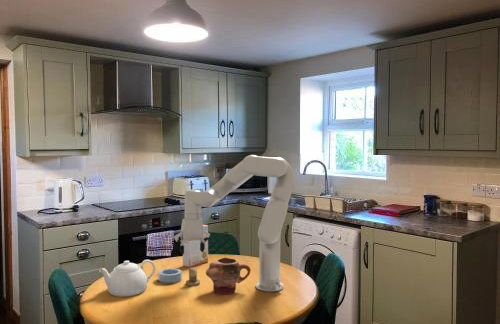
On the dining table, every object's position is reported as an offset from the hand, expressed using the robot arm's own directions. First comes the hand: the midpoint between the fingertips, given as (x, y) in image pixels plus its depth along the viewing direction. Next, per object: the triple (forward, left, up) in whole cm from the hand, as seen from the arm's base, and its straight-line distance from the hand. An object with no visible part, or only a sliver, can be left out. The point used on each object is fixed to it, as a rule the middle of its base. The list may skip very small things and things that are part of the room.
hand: (192, 252), depth 198 cm
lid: (0, 0, -15) cm, 15 cm away
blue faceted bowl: (+10, +8, -15) cm, 19 cm away
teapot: (+4, +29, -15) cm, 33 cm away
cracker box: (+30, -12, -15) cm, 36 cm away
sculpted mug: (-16, -11, -15) cm, 25 cm away
